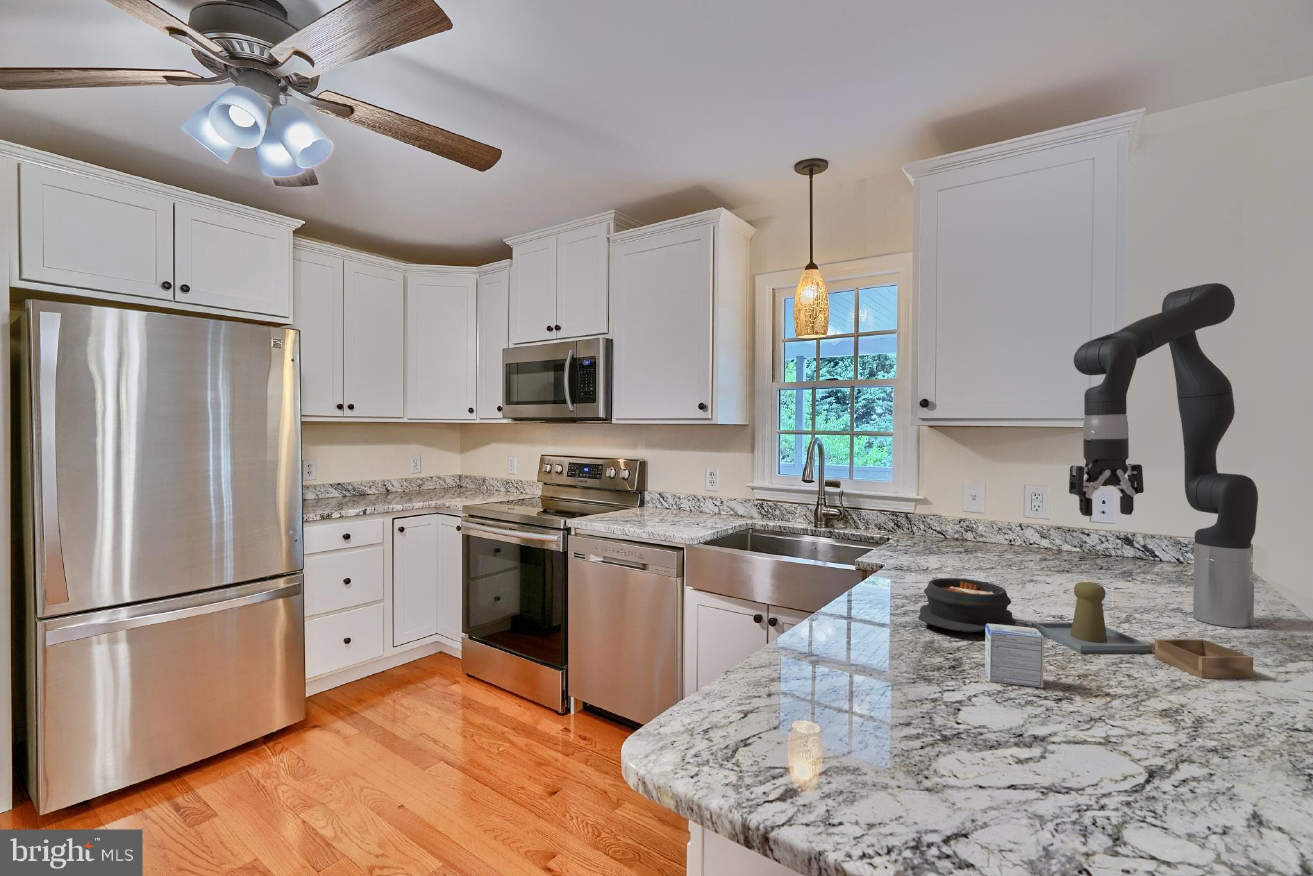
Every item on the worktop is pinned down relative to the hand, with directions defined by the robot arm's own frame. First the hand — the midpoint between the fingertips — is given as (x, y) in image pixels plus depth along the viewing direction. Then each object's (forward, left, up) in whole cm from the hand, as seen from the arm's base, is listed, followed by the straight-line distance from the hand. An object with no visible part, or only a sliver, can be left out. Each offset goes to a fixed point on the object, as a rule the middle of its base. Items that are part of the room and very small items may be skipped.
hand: (1106, 515), depth 125 cm
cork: (+6, +4, -25) cm, 25 cm away
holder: (-4, +18, -25) cm, 31 cm away
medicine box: (+34, +23, -25) cm, 48 cm away
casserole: (+25, -7, -25) cm, 36 cm away
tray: (+6, +4, -25) cm, 26 cm away
